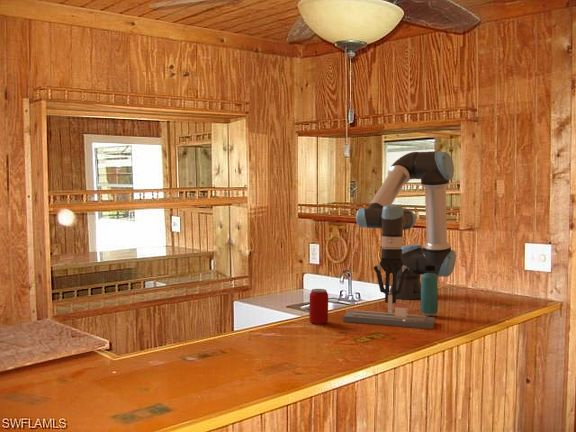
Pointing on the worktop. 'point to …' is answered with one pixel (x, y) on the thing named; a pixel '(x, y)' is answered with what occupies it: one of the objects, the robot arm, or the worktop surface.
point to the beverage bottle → (429, 291)
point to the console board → (389, 319)
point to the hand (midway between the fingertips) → (390, 311)
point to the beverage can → (318, 306)
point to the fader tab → (401, 309)
